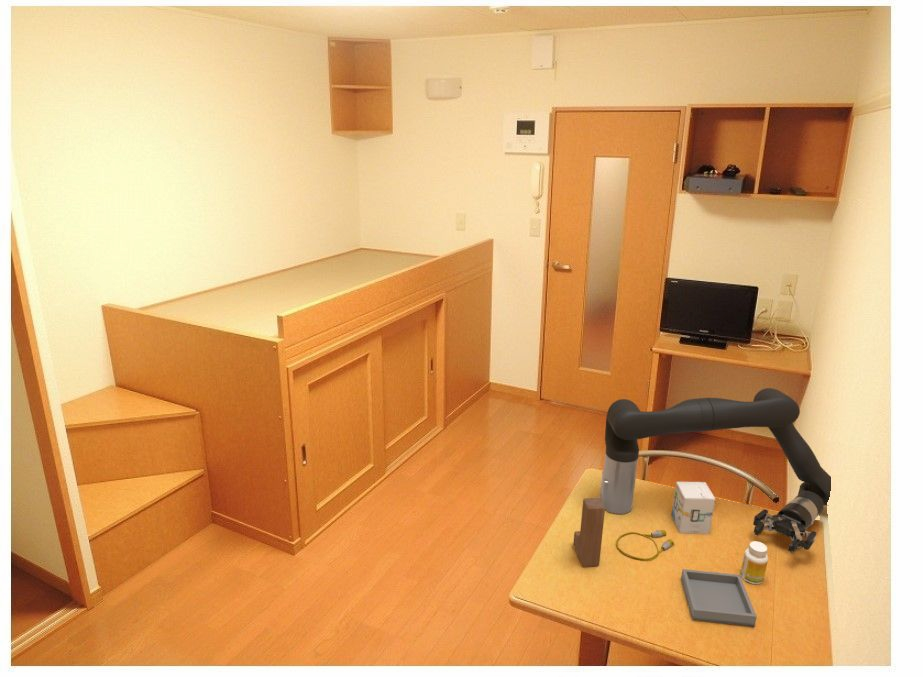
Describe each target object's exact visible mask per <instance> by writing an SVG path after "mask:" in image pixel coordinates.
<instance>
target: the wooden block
mask: <svg viewBox="0 0 923 677" xmlns="http://www.w3.org/2000/svg"><path fill="white" fill-rule="evenodd" d="M581 509H582V510H581V519H580V520H581V521H580V529H579V531H578V530H576V531H574V532H573V547H574V550H575V552H576V555H577V557H578V559H579V561H580V564H581V566H582V567H583V568H588V567H590V568H591V567H599V566H600V559H601V553H602V542H603V533H604V532H603V531H604V522H605V513H606V510H605V506H604V504H603V502H602V501H601V499H600V497H584V498H583V499H582V508H581Z"/></svg>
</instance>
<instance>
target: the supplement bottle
mask: <svg viewBox="0 0 923 677" xmlns="http://www.w3.org/2000/svg"><path fill="white" fill-rule="evenodd" d="M767 553H768V546H767V545H765V543H762V542H761V541H755V540H754V541H751V542H750V543H749V546H748V547H747V549H745V551H744V554H743V558H742V563H741V569H740V574H739V575H740V577H741V579H742V580H744V581H745V582H747V583H750V584H752V585H760V584H762V583H763V582H764V580H765V574H766V571H767V566H768V562H769V556H768V554H767Z"/></svg>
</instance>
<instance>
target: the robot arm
mask: <svg viewBox="0 0 923 677" xmlns="http://www.w3.org/2000/svg"><path fill="white" fill-rule="evenodd" d="M800 413H801V410H800V406H799V405H798V403H797V402H796V400H795V399H793V398H792V397H791V396H789V395H788V394H786V393H784V392H783V391H781V390H778V389H776V388H771V387H766V388H763V389H761V390H759V391H758V392H757V393H756V394H755V396H754V397H753V401H742V400H741V401H740V400H734V399H727V398H722V397H701V398H697V397H696V398H690V399H685V400H682V401H681V402H679V403H677V404H675V405H673V406H671V407H669V408H666V409H662V410H654V411H641V409H640V408H639V407H638V405H637V404H636V403H635V402H634V401H632V400H630V399H627V398H620V399H618V400H615V401H614V402H612V403H611V405H610V406H609V407H608V410H607V412H606V419H605V429H604V431H605V433H604V444H605V454H604V463H603V471H602V472H601V482H600V492H599V494H600V495H599V498H600V499H601V501H602V502H603V504H604V506H605V512H606V511H607V512H609V513H611V514H616V515H625V514H629V513H630V512H631V511H632V509H633V504H634V496H635V487H636V478H637V472H638V465H639V464H638V462H639V455H640V447H639V442H638V440H642V439H647V438H652V437H657V436H664V435H674V434H682V433H683V434H684V433H698V432H700V433H701V432H711V431H717V430H719V431H721V430H730V429H731V430H732V429H740V428H742V429H743V428H750V427H751V428H768V429H769V431H770V432H771V434H772V435H773V436H774V438H775V439H776V442H777V443H778V445H779V446H780V448H781V450H782V451H783V454H784V455H785V457H786V459H787V461H788V463H789V464H790V466H791V468H792V471H793V472H794V474H795V476H796V478H797V479H798V480H800V481H801V482H802V483H800V484H799V490H798V493H797V495H796V496H795V497H794V498H793V499H791V500H790V501H789V502H787V504H785V505H784V506H783V507H782V508H781V509H780V510H779V511H778V512H777V514H771V513H768V512H769V510H767V508H766V509H762V510H761V511H759V512H758V513H757V514H755V515H754V518H753V523H752V525H754V528H753V533H754V536H756V537H758V536H759V535H760V534H761V533H762V532H763V531H768V532H777V533H780V534H782V535H784V536H785V537H789V538H790V540H791V542H790V543H789V545H788V550H787V552H790V553H792V552H796V551H798V550H799V549H800V548H803V549H804V550H806V551H809V550H810V548H811V547H812V546H813V544H814V543H815V541H816V537H817V532H816V531H815V530H811V531H808V528H809V527H810V526H812V525H813V523H814V522H815V520H816V519H817V517H819V516H820V514H821V513H822V512H823V510H824V508H825V507H824V506H828V505H827V502H828V500H829V497H830V491H831V477H832V476H831V475H830V474H829V473H828V472H827V471H826V470H825V469H824V468H823V467H822V465H821V464H820V462H819V460H818V459H817V456H816V455H815V453H814V451H813V450H812V448H811V446H810V445H809V444H808V442H807V441H806V440H805V439H804V437H803V436H802V435H801V434H800V432H799V431H798V430H797V428H796V427H795V425H794V422H796V420H798V418H799V416H800ZM803 536H805V539H803Z"/></svg>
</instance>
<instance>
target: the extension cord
mask: <svg viewBox="0 0 923 677" xmlns="http://www.w3.org/2000/svg"><path fill="white" fill-rule="evenodd" d="M629 535H640V536H642V537H645V538H647V539H650V540H651V541H652V542H653V543H654V545H655V547H656V550H657V552H656V554H655V555H653V556H651V557H647V558H644V557H639V556H634V555H631V554H628V553H627V552H625V551H624V550H622V549H621V548H620V547H619V543H618V542H619V541H620V539H622V538H623V537H627V536H629ZM665 536H667V531H666V530H665V529H662V530H660V529H659V530H656V531H653V532H651V533H650V534H648V533H647V534H646V533H639V532H636V531H631V532H625V533H623V534H621V535H619V537H617V539H616V540H615V546H616V548H617V550H618V552H619V553H620V554H621V555H623V556H625V557H626V558H630V559H633V560H636V561H641V562H652V561H654V560H656V559H657V558H658V557H659V554H660V553H661V552H662V551H663V552H665V551H666V550H668V549H670V548H672V546H674V545H675V542H674V540H672V539H670V538H669V539H666V541H665V542H663V544H662V546H661V547H660V550H659V546H658V545H657V543H656V541H655V540H654V539H653V538H662V537H665Z"/></svg>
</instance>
